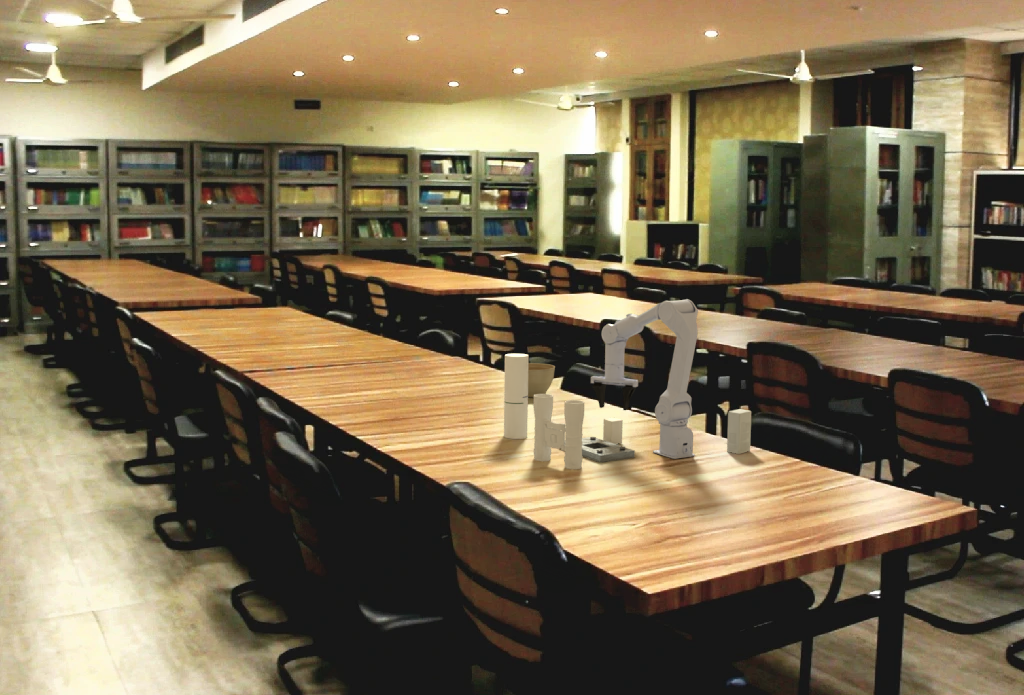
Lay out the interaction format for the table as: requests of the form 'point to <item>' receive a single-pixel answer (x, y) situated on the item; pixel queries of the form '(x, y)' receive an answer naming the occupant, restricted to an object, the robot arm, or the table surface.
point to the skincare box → (739, 431)
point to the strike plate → (604, 450)
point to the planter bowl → (539, 378)
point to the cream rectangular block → (612, 430)
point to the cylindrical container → (516, 396)
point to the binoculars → (558, 431)
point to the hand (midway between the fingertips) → (613, 408)
